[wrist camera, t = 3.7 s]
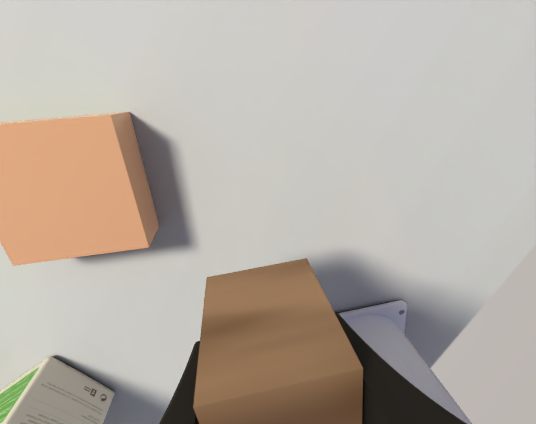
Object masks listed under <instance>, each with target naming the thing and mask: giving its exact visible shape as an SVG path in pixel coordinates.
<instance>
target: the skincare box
mask: <svg viewBox="0 0 536 424" xmlns="http://www.w3.org/2000/svg"><path fill="white" fill-rule="evenodd" d="M114 394H115V393H114V392H113V391H112V390H110V389H109V388H107V387H105V386H104V385H102V384H100V383H99V382H97V381H95V380H93V379H92V378H90V377H88V376H86V375H85V374H83V373H81V372H79V371H77V370H76V369H74V368H72V367H70V366H68V365H66V364H65V363H63V362H61V361H59V360H57V359H55V358H53V357H48V358H46V359H45V360H43V361H42V362H41V363H39V364H38V365H37V366H35V367H34V368H32V369H31V370H29V371H27V372H26V373H25V374H23V375H22V376H20V377H19V378H18V379H16V380H15V381H14V382H12V383H11V384H9V385H8V386H7V387H5V388H4V389H3V390H1V391H0V424H103V423H104V420H105V418H106V415H107V412H108V410H109V407H110V404H111V402H112V399H113V397H114Z"/></svg>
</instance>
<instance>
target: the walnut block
mask: <svg viewBox="0 0 536 424" xmlns="http://www.w3.org/2000/svg"><path fill="white" fill-rule="evenodd" d="M362 403H363V367H362V365H361V363H360V361H359V359H358V357H357V355H356V353H355V351H354V350H353V348H352V346H351V344H350V342H349V340H348V338H347V336H346V334H345V332H344V330H343V328H342V326H341V324H340V322H339V320H338V318H337V317H336V315H335V313H334V311H333V309H332V307H331V305H330V303H329V301H328V299H327V297H326V295H325V293H324V291H323V289H322V287H321V285H320V284H319V282H318V280H317V278H316V276H315V274H314V272H313V270H312V268H311V266H310V264H309V262H308V260H307V258H306V259H301V260H296V261H290V262H285V263H280V264H275V265H269V266H264V267H259V268H254V269H248V270H243V271H238V272H233V273H228V274H222V275H217V276H212V277H207V280H206V289H205V299H204V309H203V318H202V328H201V337H200V347H199V356H198V366H197V376H196V385H195V395H194V404H193V408H194V411H195V414H196V416H197V419H198V422H199V424H362Z"/></svg>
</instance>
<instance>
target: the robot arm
mask: <svg viewBox="0 0 536 424" xmlns="http://www.w3.org/2000/svg"><path fill="white" fill-rule="evenodd" d="M406 314H407V304H406V303H405V302H404V301H403V300H399V301H394V302H390V303H385V304H380V305H376V306H371V307H366V308H361V309H357V310H352V311H347V312H342V313H337V312H336V313H335V315H336V317H337V318H338V320H339V322H340V324H341V326H342V328H343V330H344V332H345V334H346V336H347V338H348V340H349V342H350V344H351V346H352V348H353V350H354V351H355V353H356V355H357V357H358V359H359V361H360V363H361V365H362V367H363V403H362V424H472V423H471V422H470V420H469V419H468V418H467V417H466V415H465V414H464V413H463V411H462V410H461V409H460V407H459V406H458V405H457V403H456V402H455V401H454V400H453V398H452V397H451V395H450V394H449V393H448V391H447V390H446V389H445V387H444V386H443V385H442V384H441V382H440V381H439V380H438V379H437V377H436V376H435V374H434V373H433V372H432V370H431V369H430V368H429V366H428V365H427V364H426V362H425V361H424V360H423V358H422V357H421V356H420V354H419V353H418V352H417V350H416V349H415V348H414V346H413V345H412V344H411V342H410V341H409V340H408V339H407V337H406V336H405V335H404V332H405V323H406ZM199 347H200V341H198V342H196V343H195V344H194V347H193V350H192V353H191V355H190V358H189V361H188V363H187V366H186V368H185V370H184V373H183V375H182V378H181V380H180V382H179V384H178V386H177V389H176V391H175V393H174V395H173V397H172V400H171V402H170V404H169V406H168V408H167V410H166V412H165V414H164V416H163V418H162V420H161V421H160V423H159V424H199V422H198V419H197V416H196V414H195V411H194V408H193V404H194V395H195V385H196V376H197V366H198V356H199Z"/></svg>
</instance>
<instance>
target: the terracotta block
mask: <svg viewBox="0 0 536 424" xmlns="http://www.w3.org/2000/svg"><path fill="white" fill-rule="evenodd" d="M159 227H160V226H159V222H158V219H157V215H156V211H155V207H154V203H153V200H152V196H151V192H150V188H149V184H148V180H147V177H146V173H145V169H144V165H143V161H142V157H141V154H140V150H139V146H138V142H137V138H136V134H135V131H134V127H133V123H132V119H131V115H130V112H122V113H110V114H98V115H86V116H74V117H62V118H50V119H38V120H26V121H14V122H2V123H0V242H1V244H2V246H3V248H4V249H5V251H6V253H7V255H8V257H9V259H10V261H11V262H12V264H13V266H14V265H21V264H29V263H36V262H44V261H51V260H59V259H66V258H74V257H82V256H89V255H97V254H104V253H112V252H119V251H127V250H134V249H142V248H149V246H150V245H151V243H152V241H153V239H154V237H155V235H156V233H157V231H158V229H159Z"/></svg>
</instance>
